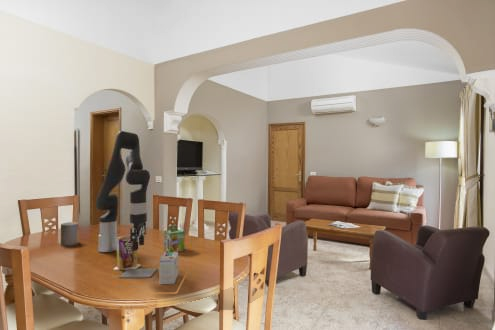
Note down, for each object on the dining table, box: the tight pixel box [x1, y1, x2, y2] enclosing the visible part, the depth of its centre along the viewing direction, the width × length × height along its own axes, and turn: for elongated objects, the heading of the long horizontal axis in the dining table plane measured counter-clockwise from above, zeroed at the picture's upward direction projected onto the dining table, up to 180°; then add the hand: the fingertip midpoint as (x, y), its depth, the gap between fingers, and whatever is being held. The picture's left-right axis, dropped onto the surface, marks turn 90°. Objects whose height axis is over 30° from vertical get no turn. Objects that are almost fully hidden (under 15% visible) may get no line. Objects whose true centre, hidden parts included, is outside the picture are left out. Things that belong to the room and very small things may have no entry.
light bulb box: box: [158, 251, 179, 285], centre depth 134 cm, size 11×7×11 cm, turn 5°
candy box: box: [116, 234, 138, 271], centre depth 150 cm, size 9×4×15 cm, turn 130°
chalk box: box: [163, 224, 186, 253], centre depth 178 cm, size 9×9×15 cm
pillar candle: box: [60, 221, 79, 247], centre depth 191 cm, size 10×10×15 cm
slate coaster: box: [118, 268, 158, 279], centre depth 141 cm, size 14×10×1 cm
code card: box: [112, 263, 141, 271], centre depth 150 cm, size 11×7×1 cm, turn 90°
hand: (138, 247), depth 141 cm, fingers open, 7 cm apart
